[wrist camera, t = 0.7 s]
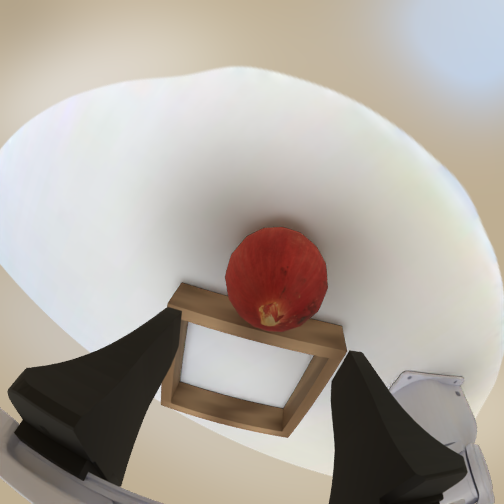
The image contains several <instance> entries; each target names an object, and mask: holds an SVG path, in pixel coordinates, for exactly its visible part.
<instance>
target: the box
mask: <svg viewBox="0 0 504 504" xmlns="http://www.w3.org/2000/svg"><path fill="white" fill-rule="evenodd" d="M167 307H171V308H174V309H177V310H180V311H182V317H181V327H180V339H179V347H178V350H177V352H176V355H175V357H174V360H173V362H172V365H171V367H170V369H169V371H168V372H167V374H166V376H165V378H164V380H163V382H162V387H161V405H163V406H166V407H168V408H171V409H174V410H177V411H180V412H183V413H186V414H189V415H193V416H196V417H199V418H203V419H206V420H210V421H213V422H217V423H221V424H224V425H228V426H232V427H236V428H241V429H245V430H250V431H254V432H259V433H264V434H269V435H275V436H281V437H287V438H288V437H289V436H290V435H291V433H292V432H293V431H294V429H295V428H296V427H297V425H298V424H299V423H300V421H301V420H302V419H303V417H304V416H305V414H306V413H307V412H308V410H309V409H310V408H311V406H312V405H313V403H314V402H315V400H316V399H317V397H318V396H319V395H320V393H321V392H322V390H323V389H324V387H325V386H326V384H327V383H328V381H329V379H330V378H331V376H332V375H333V373H334V372H335V370H336V369H337V367H338V365H339V364H340V362H341V360H342V359H343V357H344V356H345V354H346V352H347V348H346V343H345V339H344V334H343V329H342V326H339V325H335V324H330V323H326V322H322V321H318V320H314V319H308V320H307V321H306V322H305V323H304V324H303V325H301V326H299V327H296V328H294V329H291V330H288V331H285V332H273V331H265V330H262V329H260V328H257V327H254V326H252V325H251V324H249V323H248V322H247V321H245V320H244V319H243V318H241V317H240V316H239V314H238V313H237V311H236V310H235V308H234V307H233V305H232V303H231V302H230V300H229V298H228V296H225V295H221V294H218V293H215V292H211V291H208V290H204V289H201V288H198V287H195V286H191V285H188V284H185V283H181V284H180V286H179V287H178V289H177V290H176V292H175V293H174V295H173V296H172V298H171V299H170V301H169V302H168V305H167ZM188 322H191V323H194V324H198V325H201V326H204V327H207V328H211V329H214V330H217V331H221V332H224V333H228V334H231V335H235V336H238V337H242V338H246V339H249V340H253V341H257V342H261V343H264V344H268V345H272V346H276V347H280V348H285V349H289V350H293V351H297V352H302V353H306V354H311V355H314V356H313V358H312V360H311V362H310V364H309V366H308V367H307V369H306V371H305V373H304V375H303V376H302V378H301V380H300V382H299V383H298V385H297V387H296V389H295V390H294V392H293V394H292V395H291V397H290V399H289V400H288V402H287V404H286V405H285V407H284V409H282V408H277V407H272V406H267V405H263V404H258V403H254V402H249V401H245V400H241V399H237V398H233V397H230V396H226V395H222V394H219V393H215V392H212V391H208V390H205V389H201V388H198V387H195V386H192V385H189V384H186V383H183V382H180V376H181V368H182V360H183V353H184V346H185V339H186V332H187V326H188Z"/></svg>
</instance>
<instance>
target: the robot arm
mask: <svg viewBox="0 0 504 504" xmlns="http://www.w3.org/2000/svg"><path fill="white" fill-rule="evenodd" d="M181 317H182V311H180V310H177V309H174V308H171V307H167V308H165V309H164V310H163V311H161V312H160V313H159V314H157V315H156V316H155V317H153V318H152V319H150V320H149V321H148V322H146V323H145V324H143V325H142V326H140V327H139V328H137V329H136V330H134V331H133V332H131V333H129V334H128V335H126V336H124V337H123V338H121V339H119V340H117V341H116V342H114V343H112V344H110V345H108V346H106V347H104V348H102V349H99V350H97V351H95V352H92V353H90V354H87V355H84V356H81V357H79V358H76V359H73V360H69V361H65V362H61V363H57V364H52V365H47V366H39V367H32V368H26V369H25V370H24V371H23V372H22V373H21V375H20V376H19V377H18V378H17V379H16V381H15V382H14V383H13V384H12V386H11V387H10V388H9V389H8V396H9V399H10V400H11V402H12V404H13V405H14V407H15V408H16V410H17V412H18V413H19V414H20V416H21V417H22V419H23V420H22V422H21V423H20V425H19V423H18V422H17V421H16V420H14V419H13V418H12V417H11V416H10V415H8V414H7V413H6V412H5V411H4V410H2V409H1V408H0V478H1V479H2V480H4V481H5V482H6V483H7V484H8V485H9V486H10V487H12V488H13V489H14V490H15V491H17V492H18V493H19V494H20V495H22V496H23V497H24V498H26V499H27V500H28V501H29V502H31V503H32V504H163V503H160V502H157V501H154V500H151V499H149V498H146V497H143V496H140V495H138V494H135V493H133V492H130V491H128V490H125V489H123V488H121V487H120V486H121V484H122V481H123V478H124V474H125V471H126V467H127V464H128V461H129V458H130V455H131V452H132V449H133V446H134V443H135V440H136V438H137V435H138V432H139V429H140V427H141V424H142V422H143V419H144V416H145V414H146V411H147V410H148V407H149V405H150V403H151V401H152V400H153V398H154V396H155V394H156V392H157V391H158V389H159V387H160V385H161V383H162V382H163V380H164V378H165V376H166V374H167V372H168V371H169V369H170V367H171V365H172V362H173V360H174V357H175V355H176V352H177V350H178V347H179V339H180V327H181ZM463 382H464V378H463V377H456V376H445V375H435V374H426V373H417V372H410V371H405V372H403V373H402V374H401V375H400V377H399V378H398V379H397V380H396V382H395V383H394V384H393V386H392V387H391V388H390V389H389V390H388V388H387V387H386V386H385V384H384V383H383V381H382V380H381V379H380V377H379V376H378V374H377V373H376V371H375V370H374V368H373V367H372V366H371V364H370V363H369V361H368V360H367V358H366V357H365V356H364V354H363V353H362V352H356V351H349V352H348V354H347V356H346V358H345V359H344V361H343V363H342V365H341V366H340V368H339V370H338V371H337V373H336V375H335V377H334V378H333V380H332V384H331V409H332V420H333V431H334V443H335V455H334V470H333V480H332V488H331V495H330V500H329V504H474V503H476V502H477V503H476V504H494V503H495V499H494V494H493V490H492V489H493V486H492V481H491V477H490V474H489V470H488V467H487V464H486V461H485V459H484V456H483V453H482V451H481V449H480V447H479V445H477V444H474V443H475V439H476V435H477V425H476V420H475V418H474V415H473V413H472V411H471V408H470V406H469V404H468V402H467V399H466V397H465V395H464V393H463V391H462V389H461V384H462V383H463Z"/></svg>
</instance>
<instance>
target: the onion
mask: <svg viewBox="0 0 504 504" xmlns="http://www.w3.org/2000/svg"><path fill="white" fill-rule="evenodd" d="M225 279H226V286H227V292H228V298H229V300H230V302H231V303H232V305H233V307H234V308H235V310H236V311H237V313H238V314H239V316H240V317H241V318H243V319H244V320H245V321H247V322H248V323H249V324H251V325H252V326H254V327H257V328H260V329H262V330H265V331H273V332H285V331H288V330H291V329H294V328H296V327H299V326H301V325H303V324H304V323H305V322H306V321H307V320H308V319H310V318H311V317H312V316H313V315H314V314H315V313H317V312H318V310H319V308H320V306H321V304H322V301H323V299H324V296H325V294H326V291H327V289H328V283H327V269H326V263H325V261H324V259H323V257H322V255H321V254H320V252H319V250H318V248H317V247H316V246H315V245H314V244H313V243H312V242H311V241H310V240H309V239H307V238H306V237H305V236H304V235H303V234H301V233H300V232H297V231H294V230H291V229H288V228H284V227H273V228H263V229H261V230H259V231H257V232H255V233H253V234H251V235H249V236H247V237H246V238H245V239H244V240H243V241H242V243H241V244H240V245H239V246H238V247H237V248H236V250H235V251H234V252H233V253H232V254H231V257H230V261H229V264H228V267H227V270H226V275H225Z"/></svg>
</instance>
